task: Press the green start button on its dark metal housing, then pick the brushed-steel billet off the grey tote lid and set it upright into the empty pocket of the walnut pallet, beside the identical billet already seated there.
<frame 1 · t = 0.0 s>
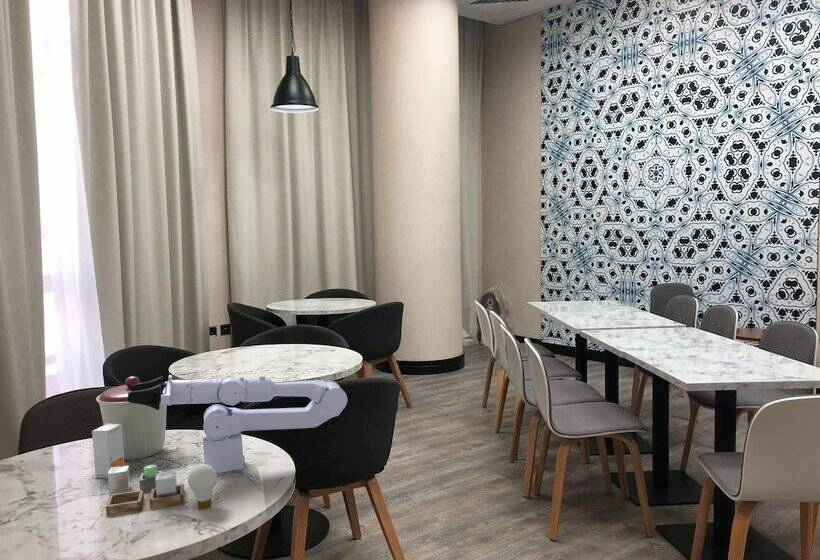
hand: (129, 393, 159), 22 cm above the table, tool horizontal, fingers open, 7 cm apart
seated billet: (167, 499, 147), point 1 cm above the table, touching pallet
billet: (120, 492, 154), resting on tote
pallet: (147, 507, 146), on the table
button housing: (152, 490, 156), on the table
light bulb: (205, 511, 143), on the table
skincare box: (110, 475, 167), on the table
canister: (138, 454, 182), on the table
tote: (120, 494, 154), on the table
button: (150, 475, 156), point 3 cm above the table, slide at 0.0 cm
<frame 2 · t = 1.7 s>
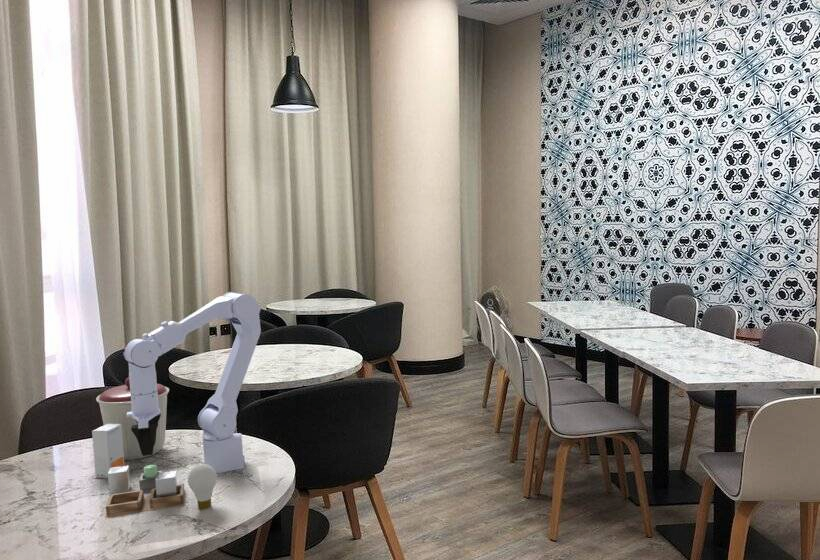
hand: (148, 450, 155), 9 cm above the table, tool pointing down, fingers open, 6 cm apart
nothing on the table moved.
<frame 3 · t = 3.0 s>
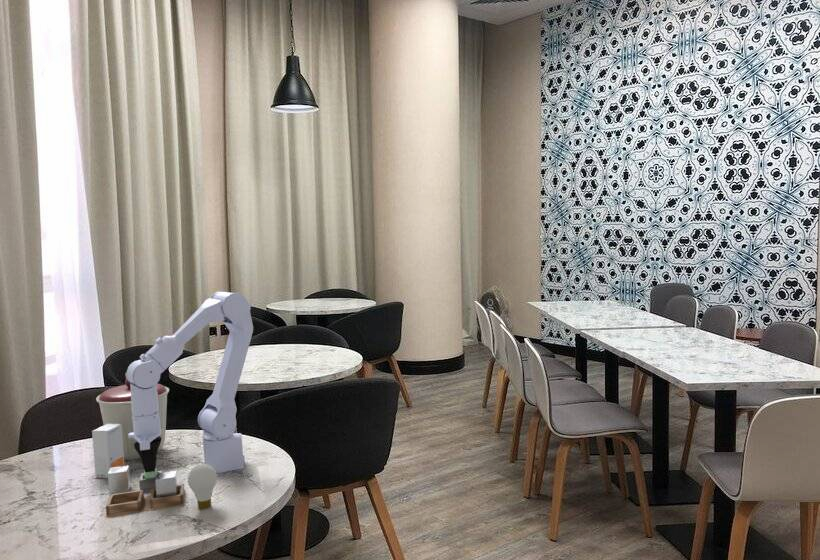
hand: (150, 471, 156), 5 cm above the table, tool pointing down, fingers closed, pressing on button
button: (151, 479, 156), point 3 cm above the table, slide at 0.9 cm, touching gripper
everything else where it was.
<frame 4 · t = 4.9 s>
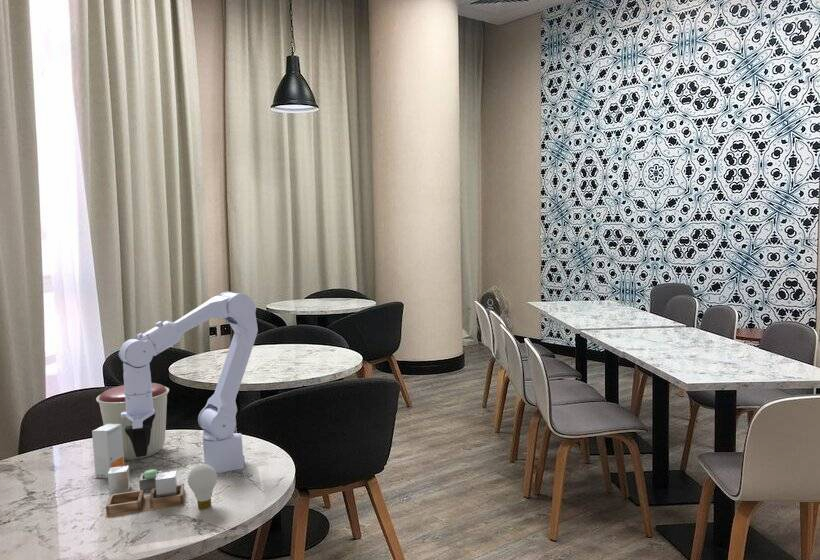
hand: (142, 450, 155), 9 cm above the table, tool pointing down, fingers open, 7 cm apart
button: (151, 480, 156), point 2 cm above the table, slide at 1.1 cm
everything else where it was.
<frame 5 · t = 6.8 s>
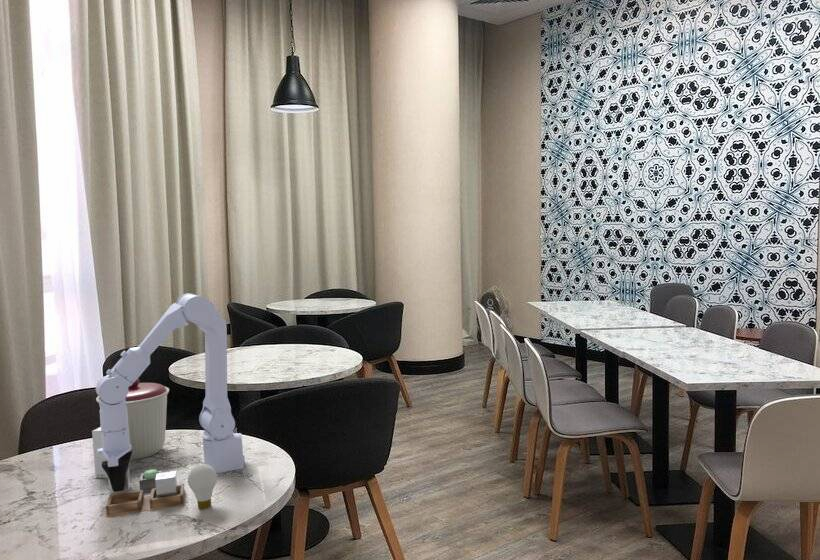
hand: (120, 487, 154), 2 cm above the table, tool pointing down, fingers closed on billet, 4 cm apart
billet: (120, 492, 154), resting on tote, touching gripper
everything else where it was.
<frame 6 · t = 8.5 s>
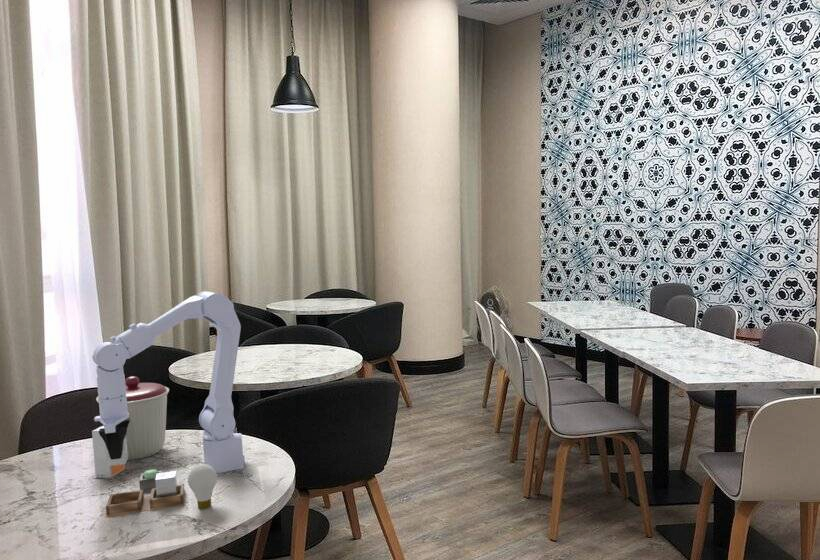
hand: (117, 455, 153), 9 cm above the table, tool pointing down, fingers closed on billet, 4 cm apart
billet: (117, 462, 153), point 8 cm above the table, touching gripper
everything else where it was.
when the fingers open (5 cm above the table, at t = 10.4 s): billet drops 2 cm, resting on pallet.
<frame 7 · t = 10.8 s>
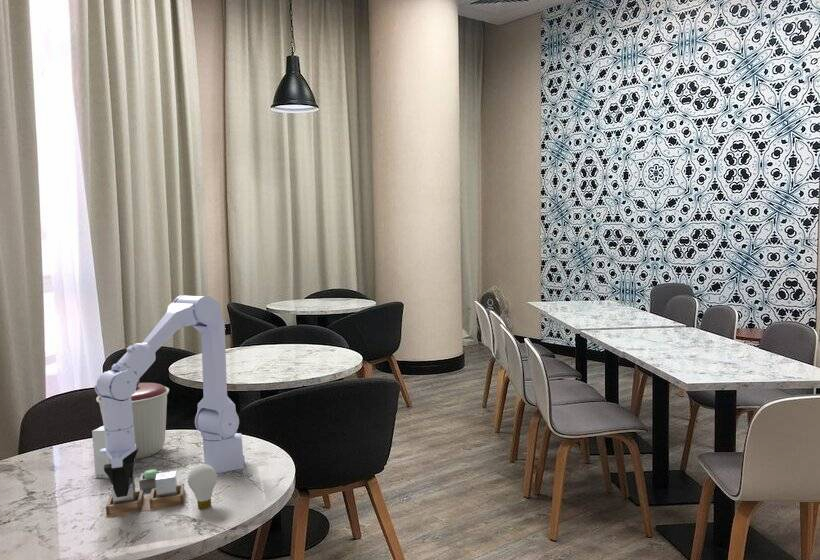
hand: (124, 489, 145), 5 cm above the table, tool pointing down, fingers open, 7 cm apart
billet: (125, 506, 145), point 1 cm above the table, touching pallet
everything else where it was.
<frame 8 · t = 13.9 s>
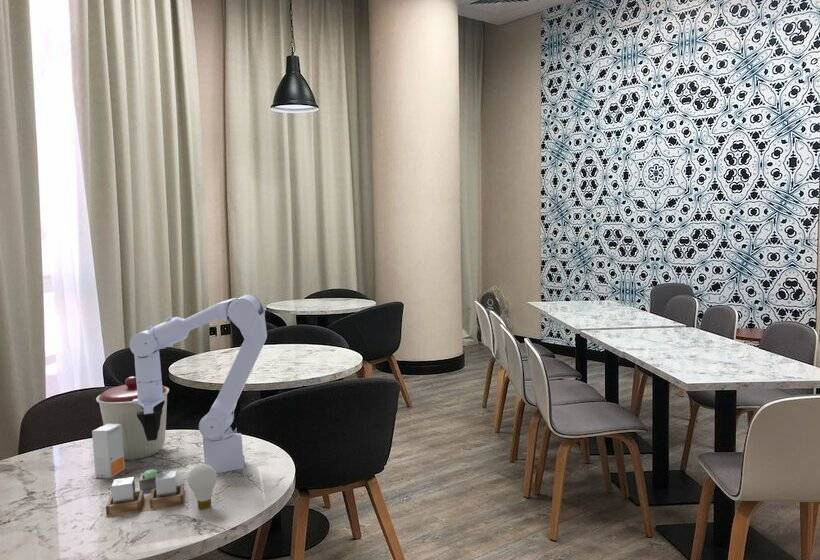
hand: (153, 435, 165), 10 cm above the table, tool pointing down, fingers open, 7 cm apart
nothing on the table moved.
at the end: billet 0.2 cm from the target spot on the pallet, point 1.0 cm above the pallet's base; billet tilted 0°; button slide at 1.1 cm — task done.
